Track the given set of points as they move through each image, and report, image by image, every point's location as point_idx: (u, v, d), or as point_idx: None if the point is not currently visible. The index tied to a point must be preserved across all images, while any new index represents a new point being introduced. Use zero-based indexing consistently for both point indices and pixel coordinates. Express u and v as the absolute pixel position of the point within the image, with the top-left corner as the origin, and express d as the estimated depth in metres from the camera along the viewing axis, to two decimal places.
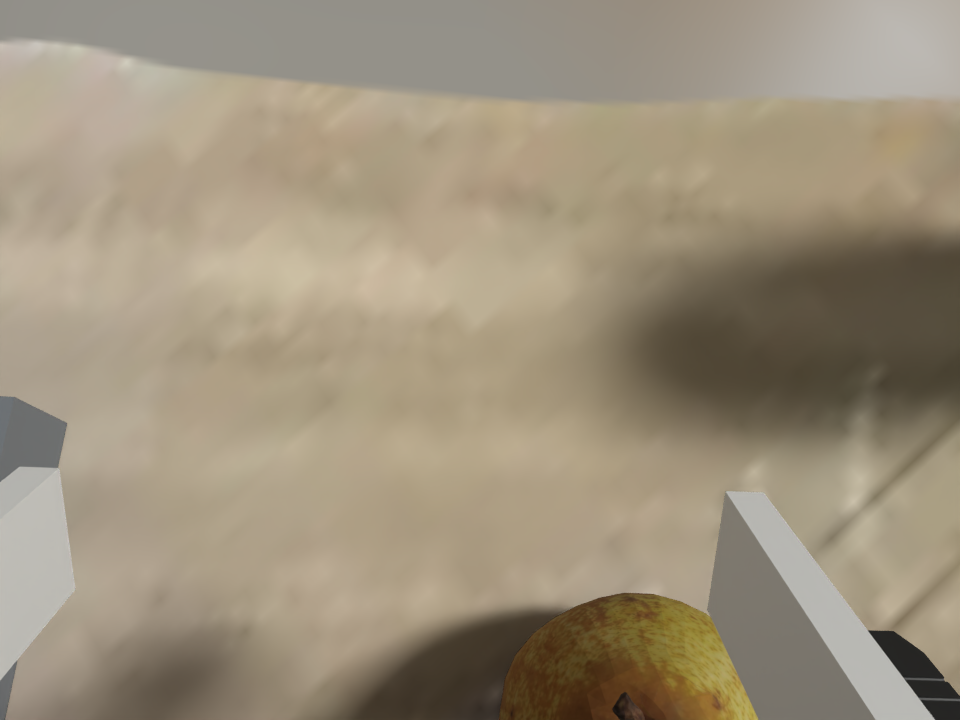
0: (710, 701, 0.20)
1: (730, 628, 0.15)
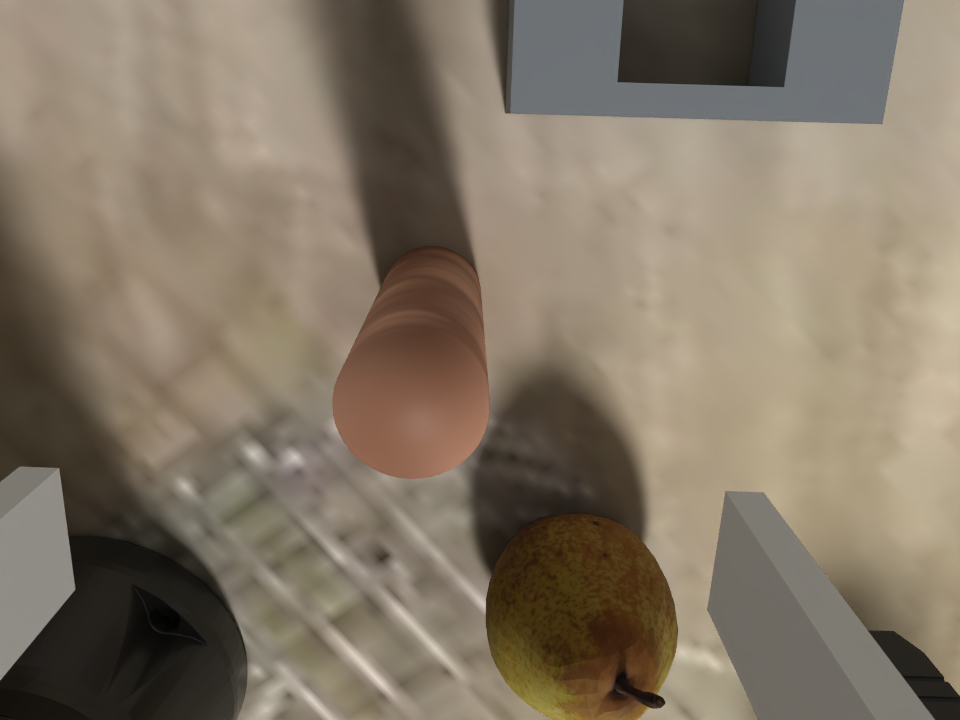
0: (637, 718, 0.31)
1: (730, 628, 0.15)
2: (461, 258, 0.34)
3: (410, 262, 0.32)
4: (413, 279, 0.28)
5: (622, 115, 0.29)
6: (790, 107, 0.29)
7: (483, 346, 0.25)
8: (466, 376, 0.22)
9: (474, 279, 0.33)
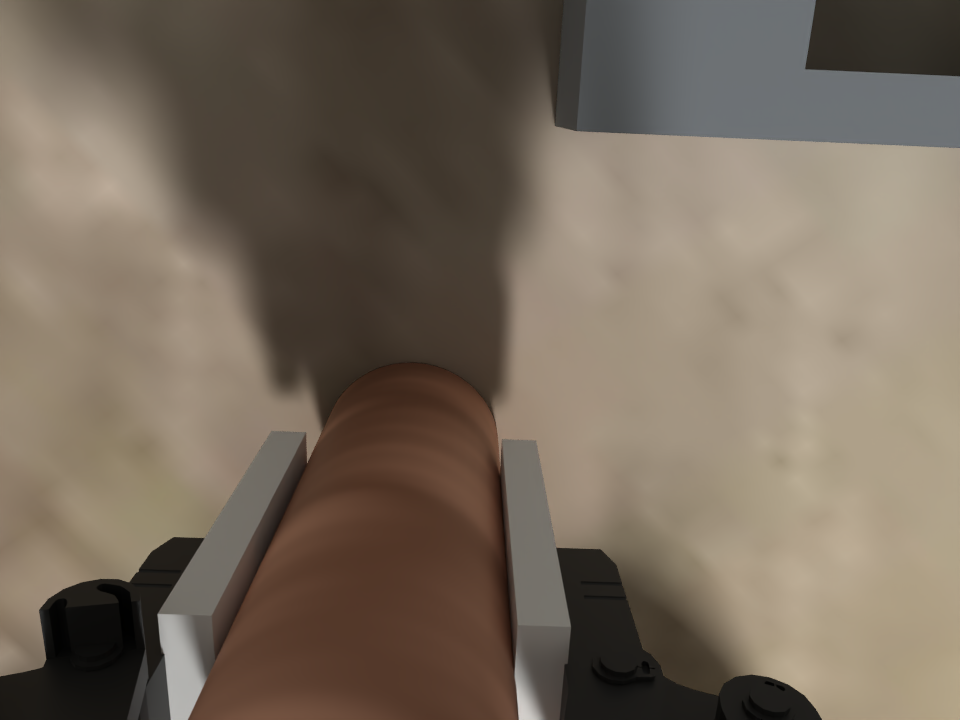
0: None
1: None
2: (464, 387, 0.19)
3: (365, 415, 0.16)
4: (357, 496, 0.13)
5: (809, 139, 0.14)
6: None
7: None
8: None
9: (488, 435, 0.18)
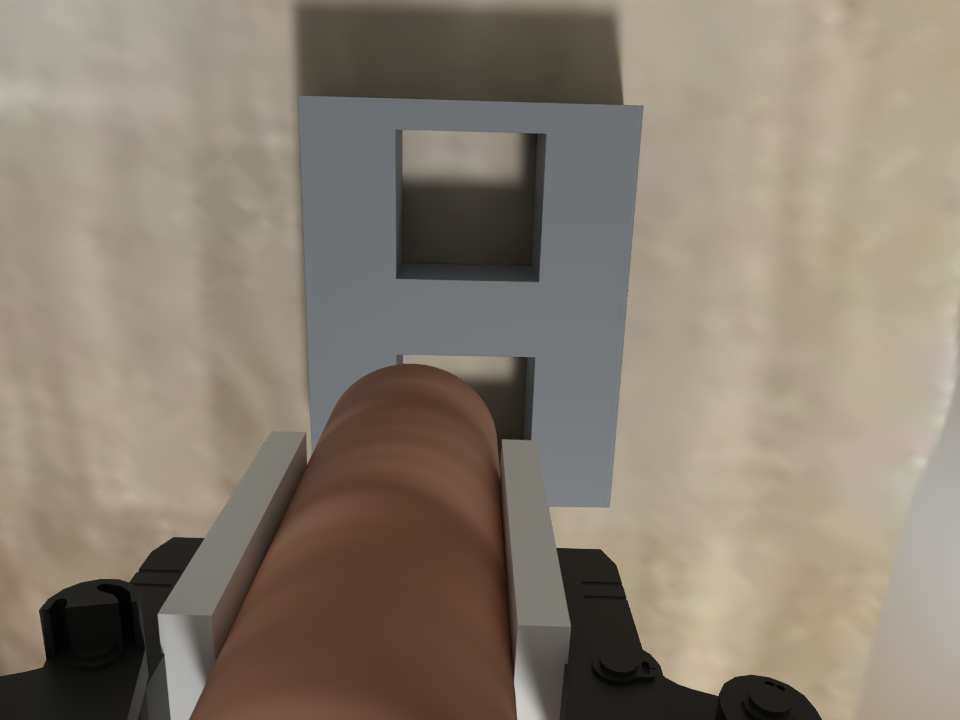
0: None
1: None
2: (464, 388, 0.19)
3: (365, 416, 0.16)
4: (357, 497, 0.13)
5: None
6: None
7: None
8: None
9: (487, 436, 0.18)
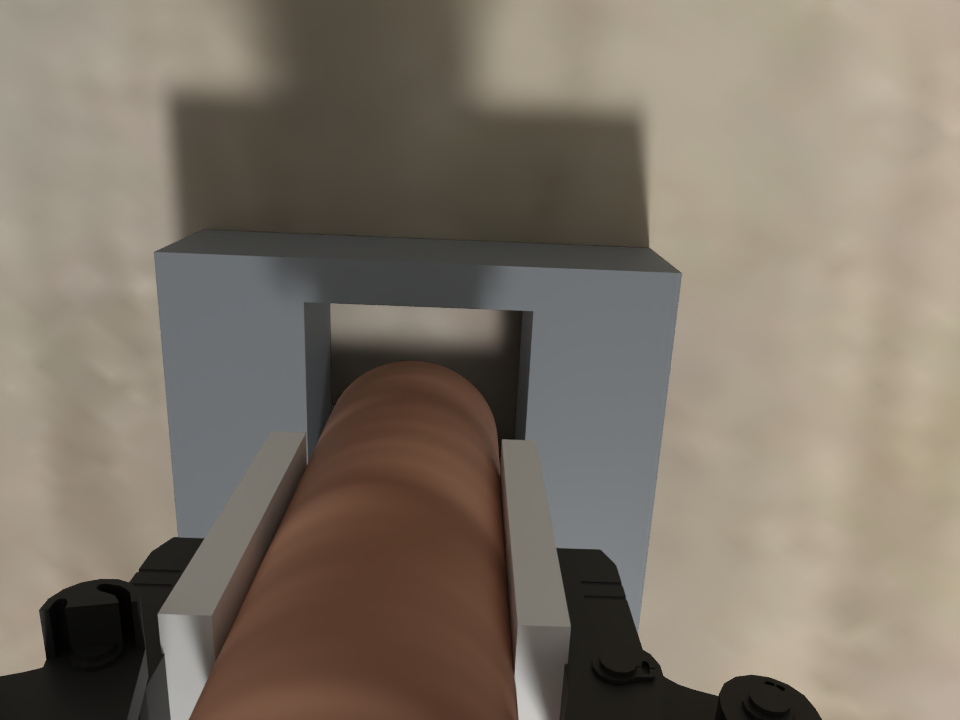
0: None
1: None
2: (464, 385, 0.19)
3: (367, 412, 0.17)
4: (359, 490, 0.13)
5: None
6: None
7: (513, 710, 0.10)
8: None
9: (487, 432, 0.18)
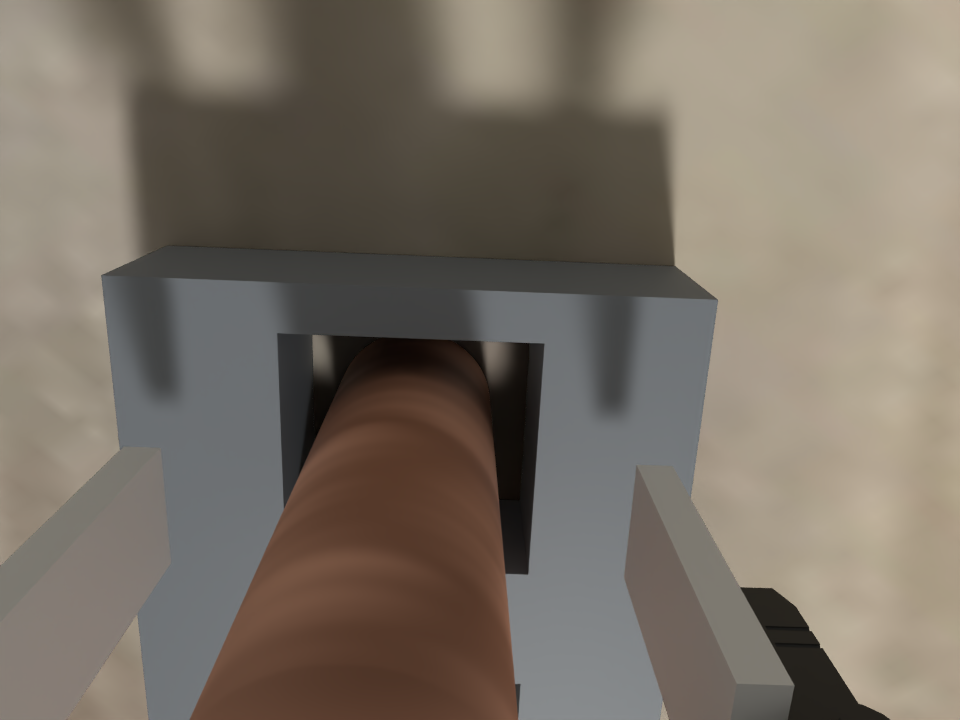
0: None
1: (638, 592, 0.16)
2: (460, 351, 0.22)
3: (377, 370, 0.19)
4: (375, 426, 0.16)
5: None
6: None
7: (503, 588, 0.13)
8: None
9: (481, 391, 0.21)
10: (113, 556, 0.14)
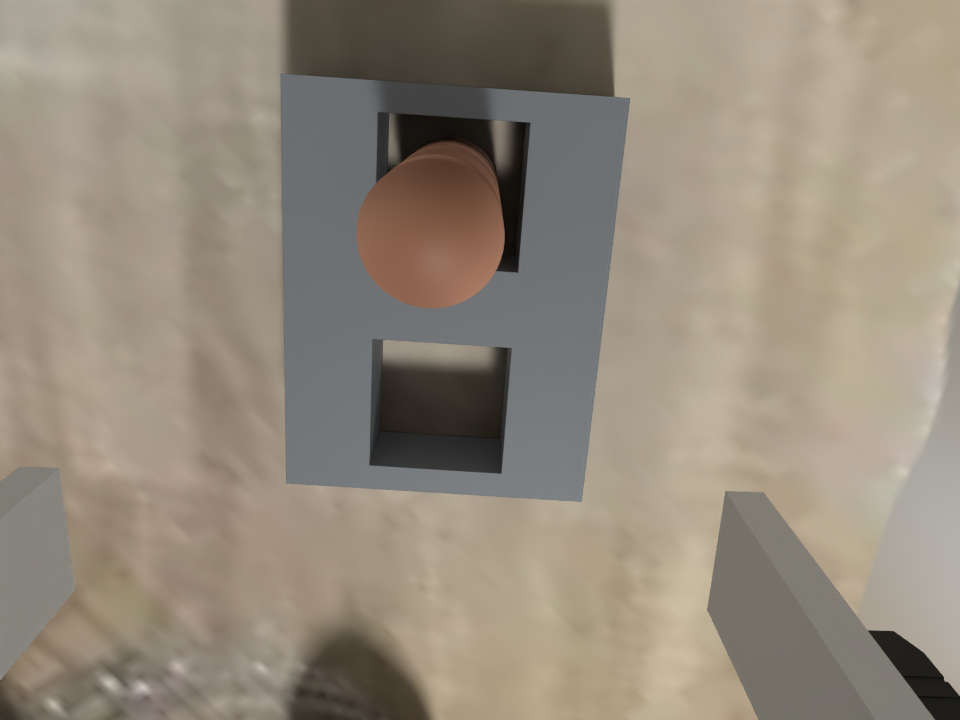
0: None
1: (730, 628, 0.15)
2: (480, 148, 0.36)
3: (431, 142, 0.33)
4: (435, 146, 0.29)
5: (374, 488, 0.37)
6: (507, 487, 0.37)
7: (499, 201, 0.27)
8: (483, 207, 0.23)
9: (492, 166, 0.34)
10: None
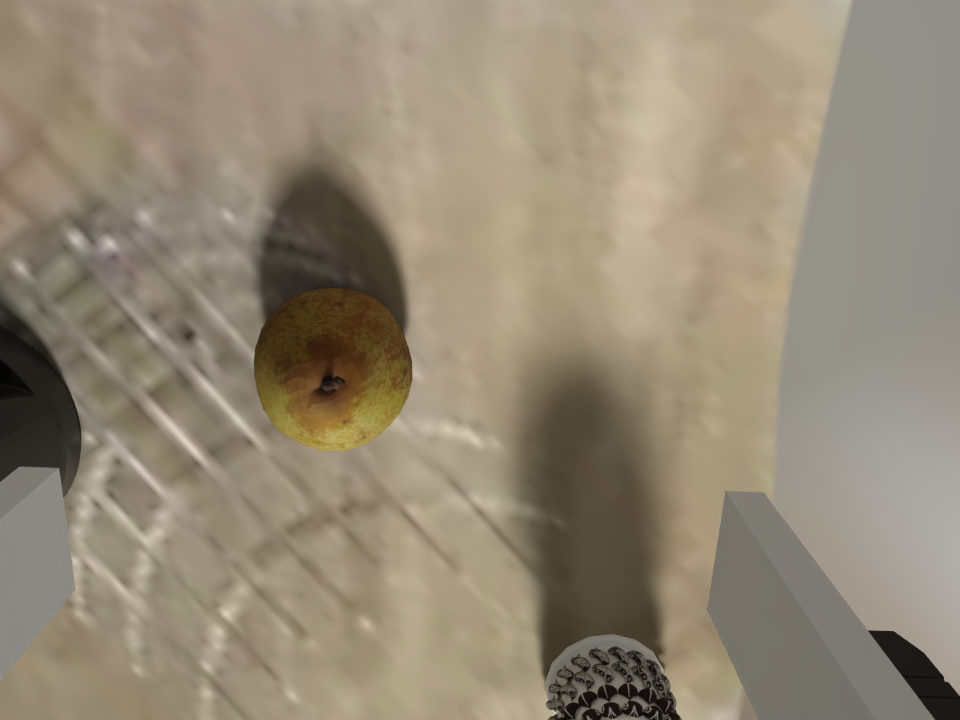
0: (346, 419, 0.39)
1: (730, 627, 0.15)
2: None
3: None
4: None
5: None
6: None
7: None
8: None
9: None
10: None
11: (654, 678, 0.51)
